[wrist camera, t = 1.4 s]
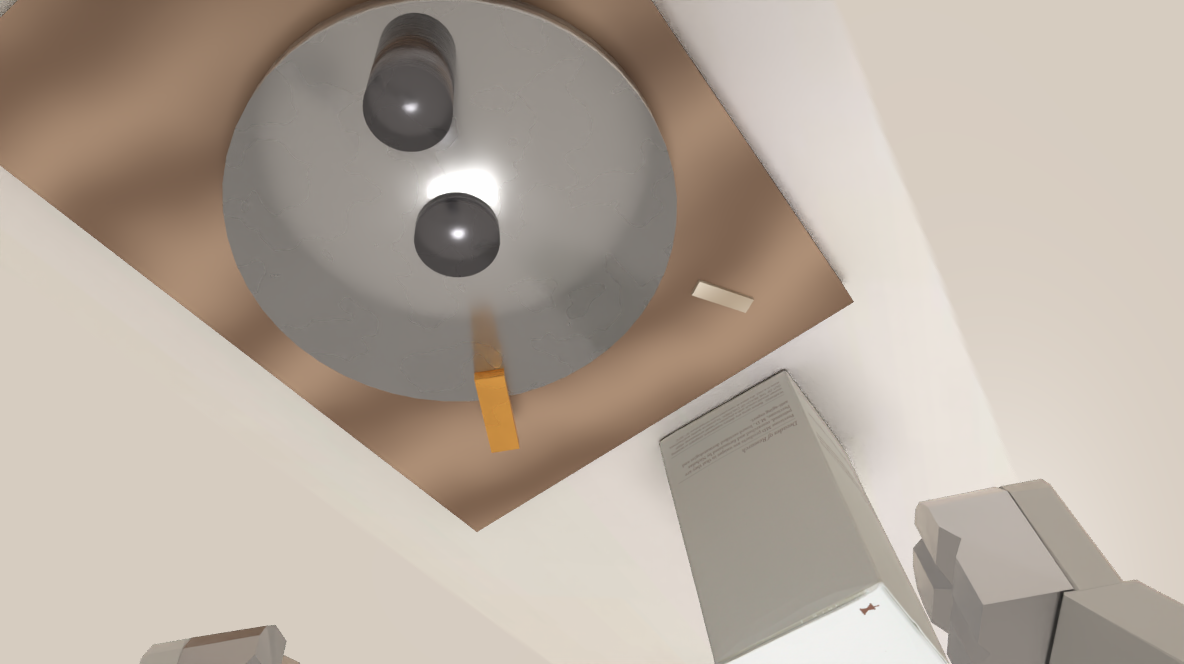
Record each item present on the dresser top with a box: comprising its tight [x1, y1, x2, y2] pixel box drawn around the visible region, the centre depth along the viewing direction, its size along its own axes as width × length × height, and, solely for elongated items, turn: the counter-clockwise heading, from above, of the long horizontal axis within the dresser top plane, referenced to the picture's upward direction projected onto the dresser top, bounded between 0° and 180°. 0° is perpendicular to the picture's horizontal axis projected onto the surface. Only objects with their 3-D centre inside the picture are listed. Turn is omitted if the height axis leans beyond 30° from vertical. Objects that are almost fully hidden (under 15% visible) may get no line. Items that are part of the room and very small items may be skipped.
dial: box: [222, 0, 677, 453], centre depth 31 cm, size 18×16×6 cm
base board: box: [0, 0, 854, 532], centre depth 34 cm, size 28×21×2 cm
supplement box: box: [660, 371, 949, 664], centre depth 39 cm, size 7×7×13 cm
